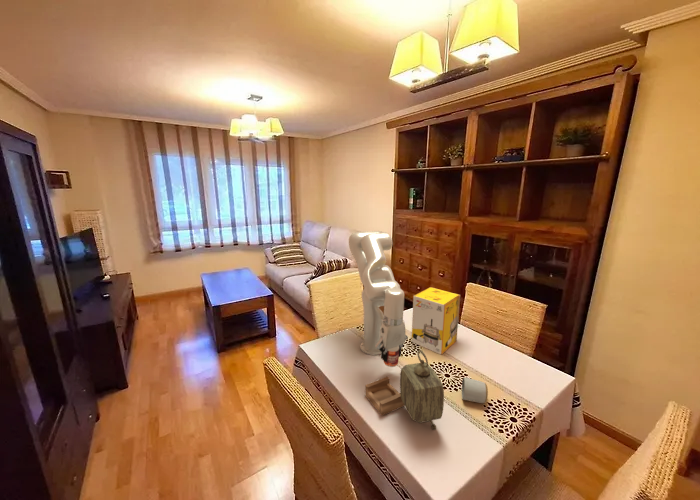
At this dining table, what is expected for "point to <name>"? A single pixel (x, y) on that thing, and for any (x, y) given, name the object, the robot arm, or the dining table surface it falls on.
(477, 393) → the ceramic mug
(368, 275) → the robot arm
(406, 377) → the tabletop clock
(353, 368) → the dining table surface
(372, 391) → the tray
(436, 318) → the packaging box
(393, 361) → the pill bottle
